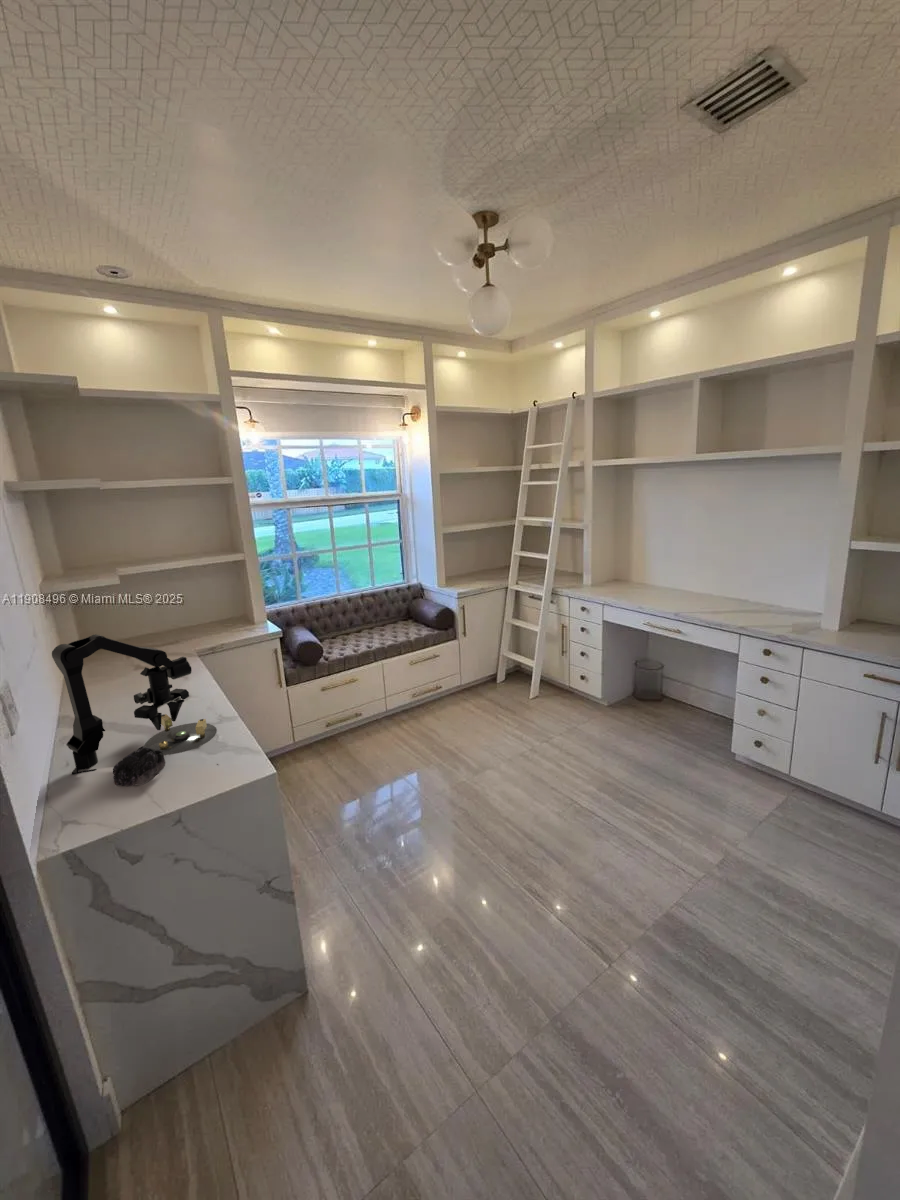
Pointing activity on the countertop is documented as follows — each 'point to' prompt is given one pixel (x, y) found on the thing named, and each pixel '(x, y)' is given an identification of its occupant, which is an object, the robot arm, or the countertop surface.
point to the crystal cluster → (138, 767)
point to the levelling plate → (180, 739)
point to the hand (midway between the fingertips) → (166, 725)
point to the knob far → (166, 722)
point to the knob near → (201, 727)
